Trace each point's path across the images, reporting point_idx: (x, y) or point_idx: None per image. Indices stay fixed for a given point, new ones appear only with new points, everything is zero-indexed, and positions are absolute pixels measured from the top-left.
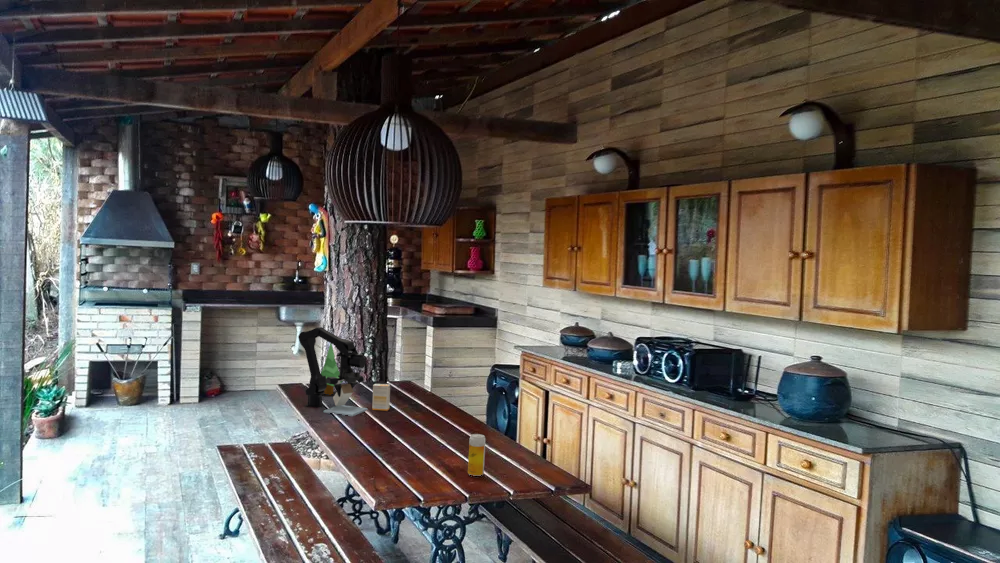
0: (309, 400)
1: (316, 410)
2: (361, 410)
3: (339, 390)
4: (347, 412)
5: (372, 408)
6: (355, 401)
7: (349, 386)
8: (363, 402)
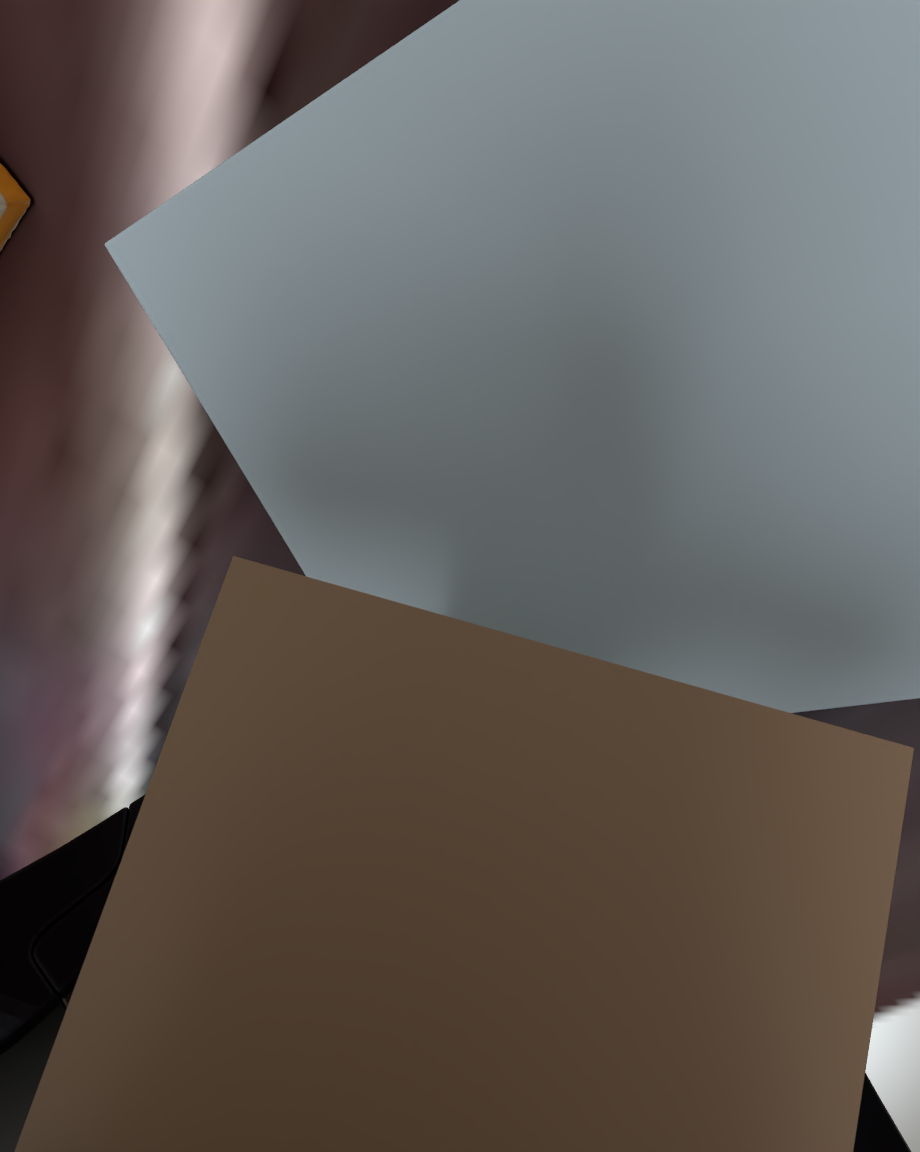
0: None
1: (907, 818)
2: (328, 110)
3: None
4: (829, 128)
5: (4, 198)
6: (116, 765)
7: (194, 1073)
8: (41, 683)
